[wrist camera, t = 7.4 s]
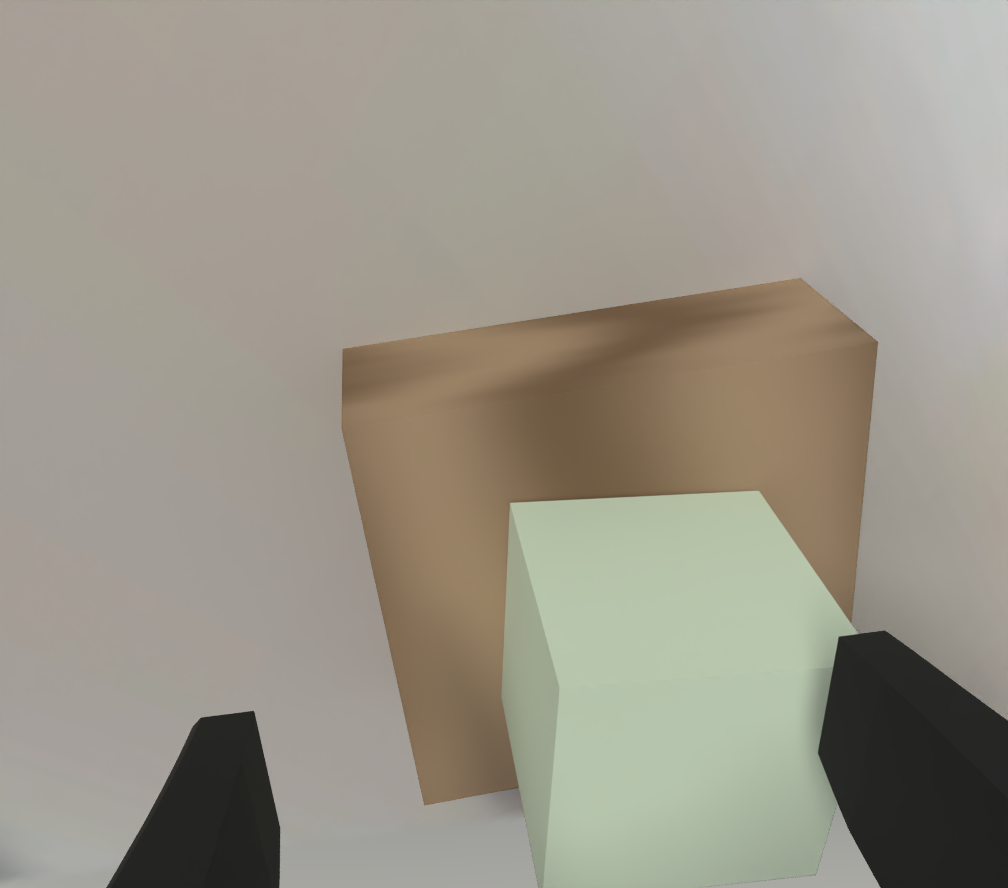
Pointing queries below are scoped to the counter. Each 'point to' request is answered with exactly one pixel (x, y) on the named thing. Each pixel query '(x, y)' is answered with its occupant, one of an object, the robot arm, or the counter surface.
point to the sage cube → (667, 691)
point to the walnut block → (585, 468)
